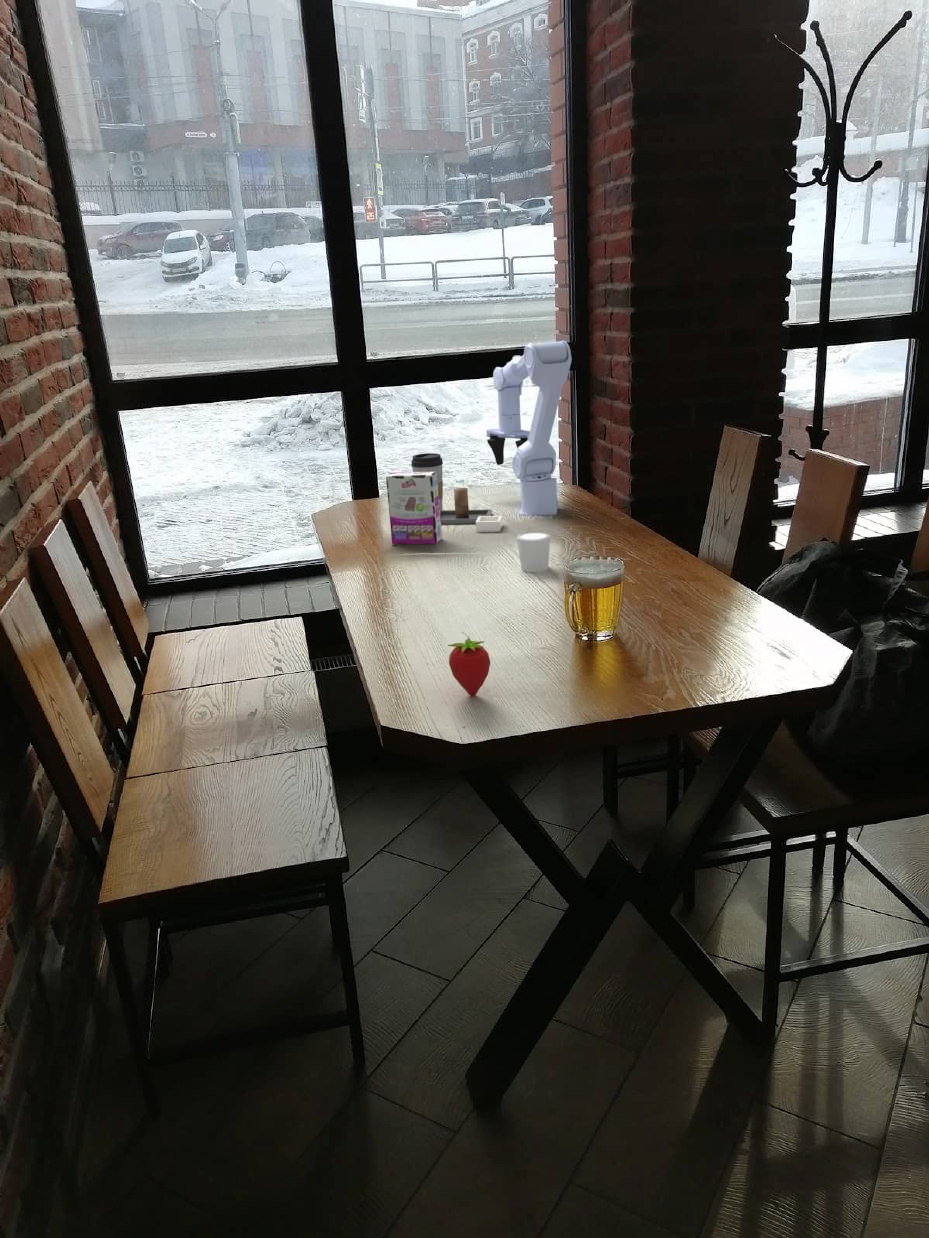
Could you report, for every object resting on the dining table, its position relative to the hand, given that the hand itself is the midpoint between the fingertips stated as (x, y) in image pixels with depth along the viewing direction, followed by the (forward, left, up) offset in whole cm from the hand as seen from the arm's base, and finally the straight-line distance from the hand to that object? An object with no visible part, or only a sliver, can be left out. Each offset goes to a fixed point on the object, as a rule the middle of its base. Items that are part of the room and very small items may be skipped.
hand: (511, 465), depth 249 cm
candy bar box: (+19, +40, -10) cm, 45 cm away
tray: (+11, +20, -10) cm, 25 cm away
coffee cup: (+21, +10, -10) cm, 25 cm away
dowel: (+11, +20, -9) cm, 25 cm away
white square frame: (+3, +30, -10) cm, 32 cm away
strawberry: (-5, +125, -10) cm, 125 cm away
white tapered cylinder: (-10, +62, -10) cm, 64 cm away
